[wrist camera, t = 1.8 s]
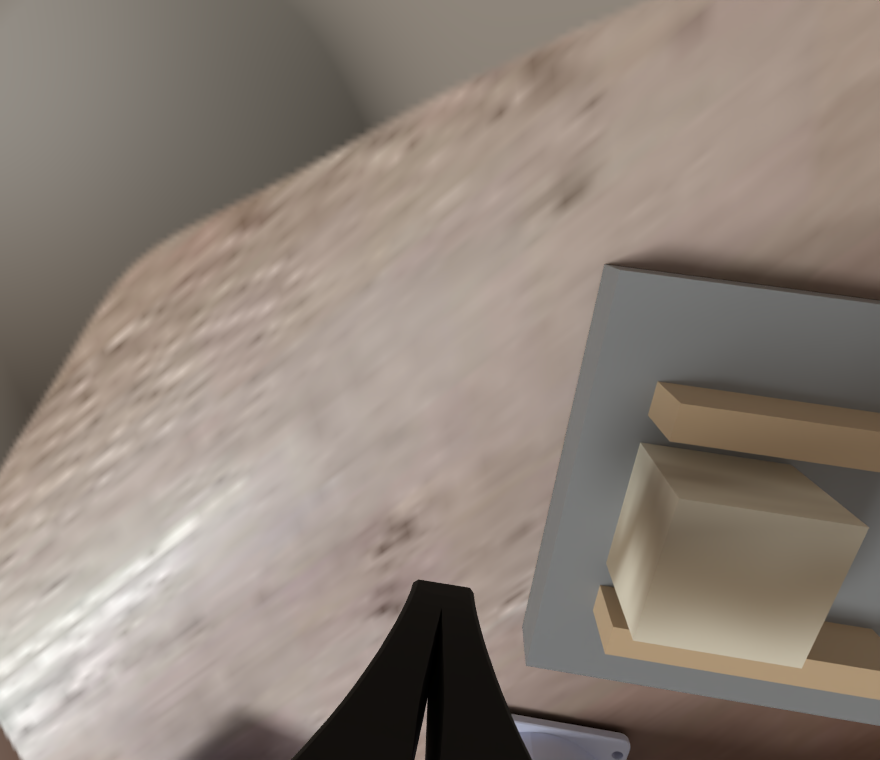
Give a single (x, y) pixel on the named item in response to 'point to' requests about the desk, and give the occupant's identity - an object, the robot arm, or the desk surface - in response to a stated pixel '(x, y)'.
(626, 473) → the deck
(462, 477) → the desk surface
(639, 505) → the wooden block
